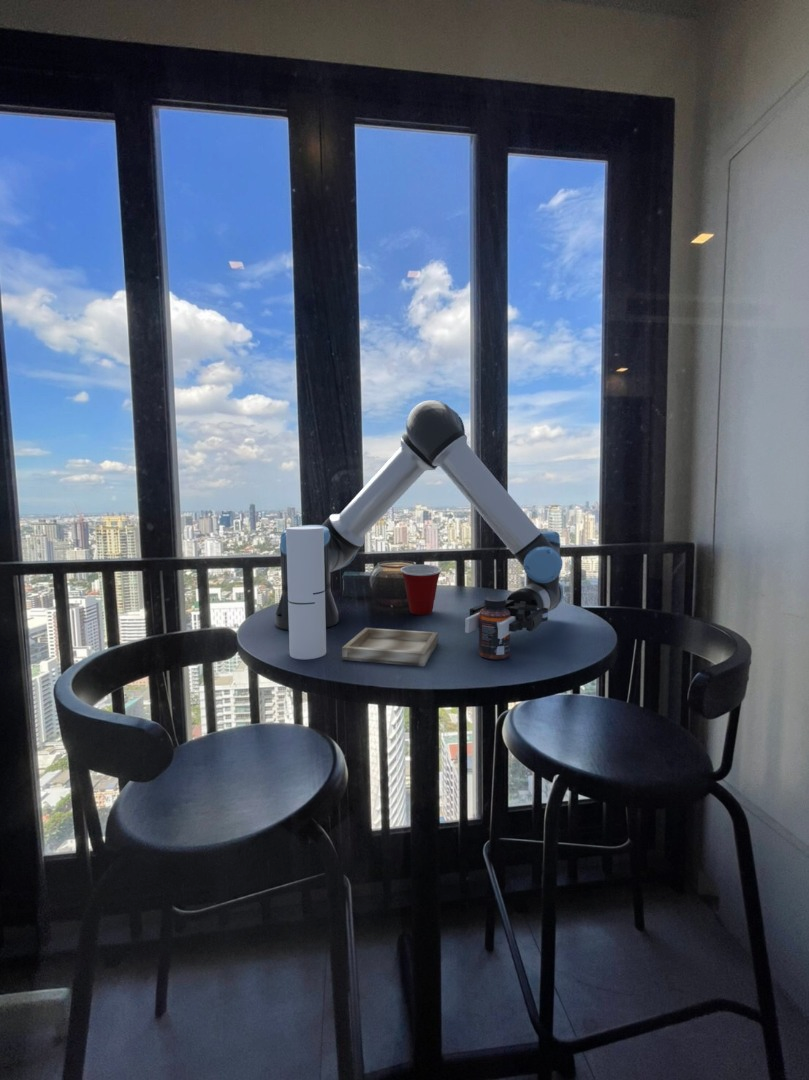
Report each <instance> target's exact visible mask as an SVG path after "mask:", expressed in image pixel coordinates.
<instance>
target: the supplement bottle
mask: <svg viewBox="0 0 809 1080" xmlns="http://www.w3.org/2000/svg"><path fill="white" fill-rule="evenodd" d="M506 600H507V599H506V598H504V597H501V596H487V597H485V598H484V603H483V604H485V607H484V608H483V609H481V610H480V613H479V628H478V654H479V656H480V657H483V658H484V659H488V660H496V661H497V660H498V661H499V660H504V659H507V658H509V656H510V651H511V649H510V648H511V647H510V644H511V633H510V634H509V635H507V636H506V637H504V638H503V639H499V638H498V624H499V623H500V622H502V621H504V620H506V619H508V618H509V617H510V612H509V610H507V609H506V607H505V605H506Z"/></svg>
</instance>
